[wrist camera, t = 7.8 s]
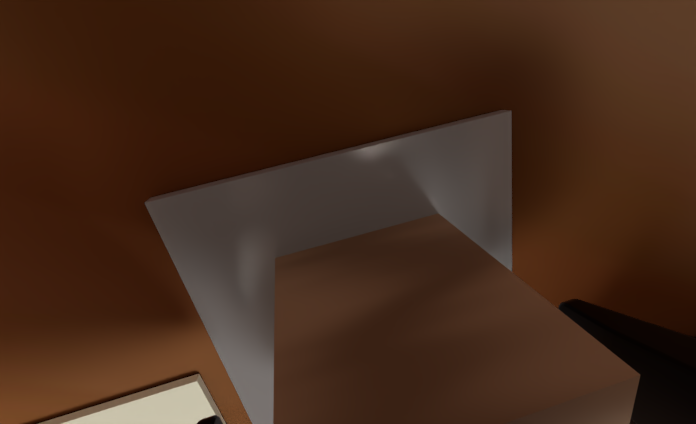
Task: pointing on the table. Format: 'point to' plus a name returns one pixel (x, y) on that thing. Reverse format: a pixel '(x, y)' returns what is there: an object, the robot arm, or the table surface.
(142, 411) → the cream glyph tile
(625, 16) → the table surface
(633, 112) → the table surface
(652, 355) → the robot arm
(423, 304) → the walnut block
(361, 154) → the slate coaster
